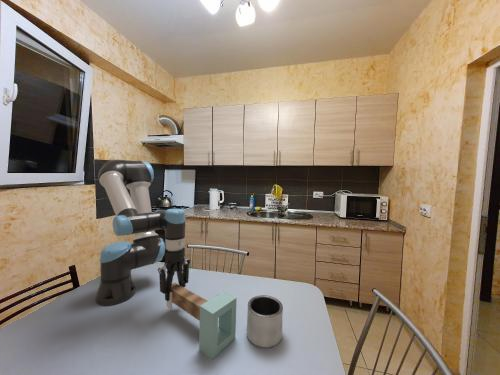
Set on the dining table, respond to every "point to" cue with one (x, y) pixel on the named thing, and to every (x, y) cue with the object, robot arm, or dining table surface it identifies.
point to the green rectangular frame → (210, 333)
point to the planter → (264, 321)
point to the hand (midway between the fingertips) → (174, 304)
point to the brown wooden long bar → (187, 300)
